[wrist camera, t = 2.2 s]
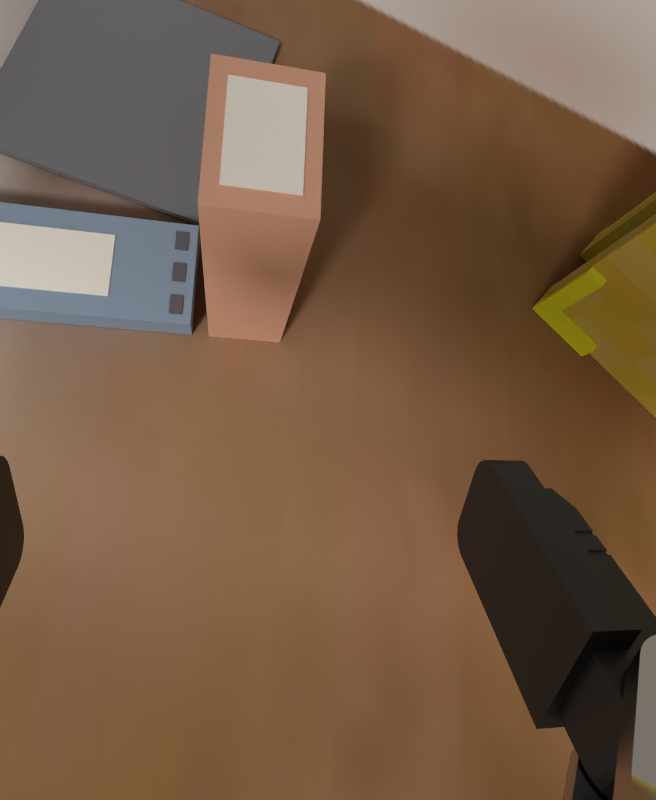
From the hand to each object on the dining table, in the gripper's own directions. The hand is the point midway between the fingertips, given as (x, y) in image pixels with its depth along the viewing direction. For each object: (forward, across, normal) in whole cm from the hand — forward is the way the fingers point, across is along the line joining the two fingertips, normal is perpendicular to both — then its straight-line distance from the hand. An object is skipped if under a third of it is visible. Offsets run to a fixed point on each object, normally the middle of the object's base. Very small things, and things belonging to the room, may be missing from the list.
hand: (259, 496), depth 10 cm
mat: (+27, -6, +4) cm, 28 cm away
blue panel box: (+20, -8, -3) cm, 21 cm away
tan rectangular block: (+19, 0, -4) cm, 20 cm away
